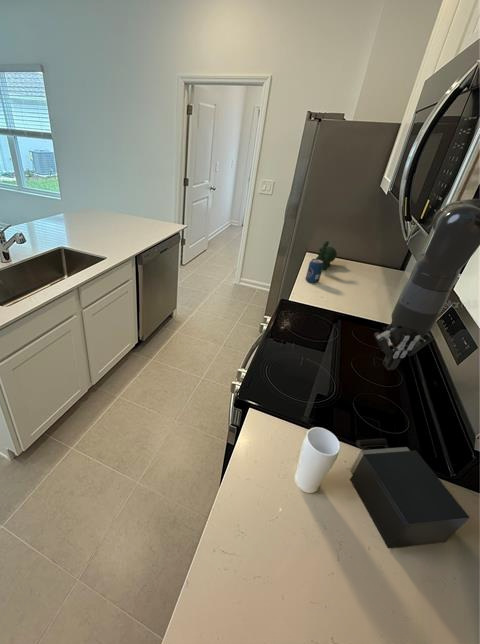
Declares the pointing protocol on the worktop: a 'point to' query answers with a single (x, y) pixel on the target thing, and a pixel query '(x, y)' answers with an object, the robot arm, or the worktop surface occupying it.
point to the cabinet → (406, 499)
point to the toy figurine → (326, 255)
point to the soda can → (314, 271)
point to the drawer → (370, 444)
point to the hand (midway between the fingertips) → (388, 367)
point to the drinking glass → (316, 458)
